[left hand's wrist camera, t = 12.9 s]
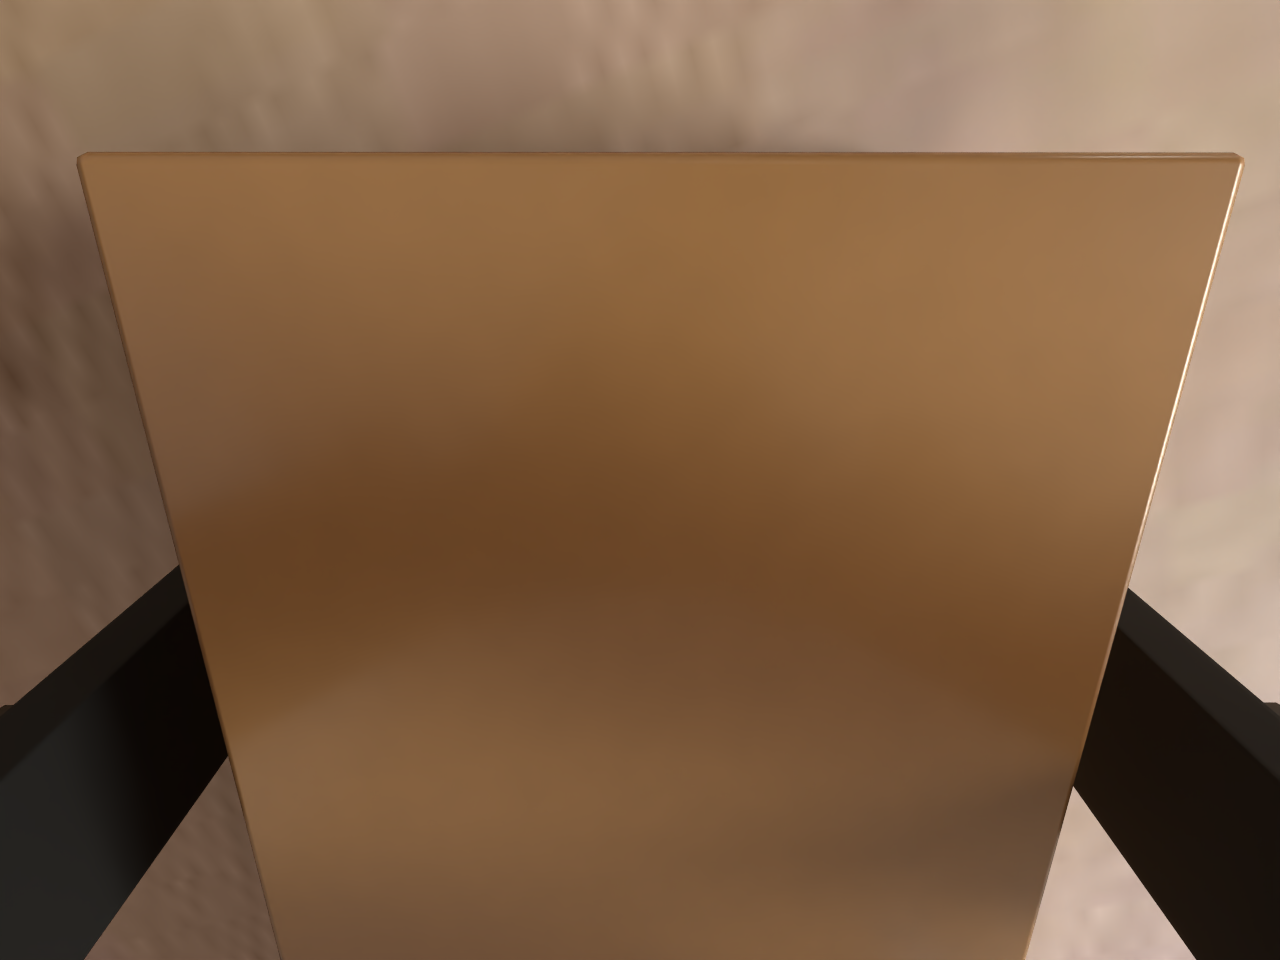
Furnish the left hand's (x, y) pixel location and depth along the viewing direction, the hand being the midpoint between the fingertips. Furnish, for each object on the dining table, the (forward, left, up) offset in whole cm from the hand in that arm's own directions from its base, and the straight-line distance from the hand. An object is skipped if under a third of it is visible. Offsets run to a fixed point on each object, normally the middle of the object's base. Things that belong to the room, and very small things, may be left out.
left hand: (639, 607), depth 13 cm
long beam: (+24, +5, -3) cm, 25 cm away
